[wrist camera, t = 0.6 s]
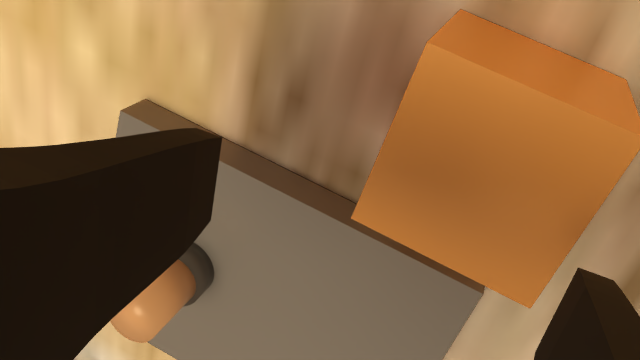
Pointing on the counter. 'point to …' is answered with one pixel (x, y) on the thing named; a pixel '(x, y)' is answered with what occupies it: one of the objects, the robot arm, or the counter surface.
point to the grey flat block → (291, 275)
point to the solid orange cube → (499, 156)
